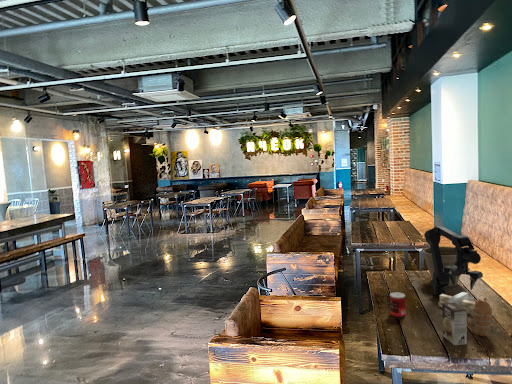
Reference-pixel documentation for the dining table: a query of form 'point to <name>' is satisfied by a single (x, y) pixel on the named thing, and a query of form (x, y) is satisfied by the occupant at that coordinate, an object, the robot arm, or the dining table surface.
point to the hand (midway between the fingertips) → (462, 287)
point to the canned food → (397, 304)
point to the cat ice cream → (482, 316)
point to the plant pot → (447, 259)
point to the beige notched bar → (464, 303)
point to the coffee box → (454, 323)
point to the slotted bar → (459, 298)
